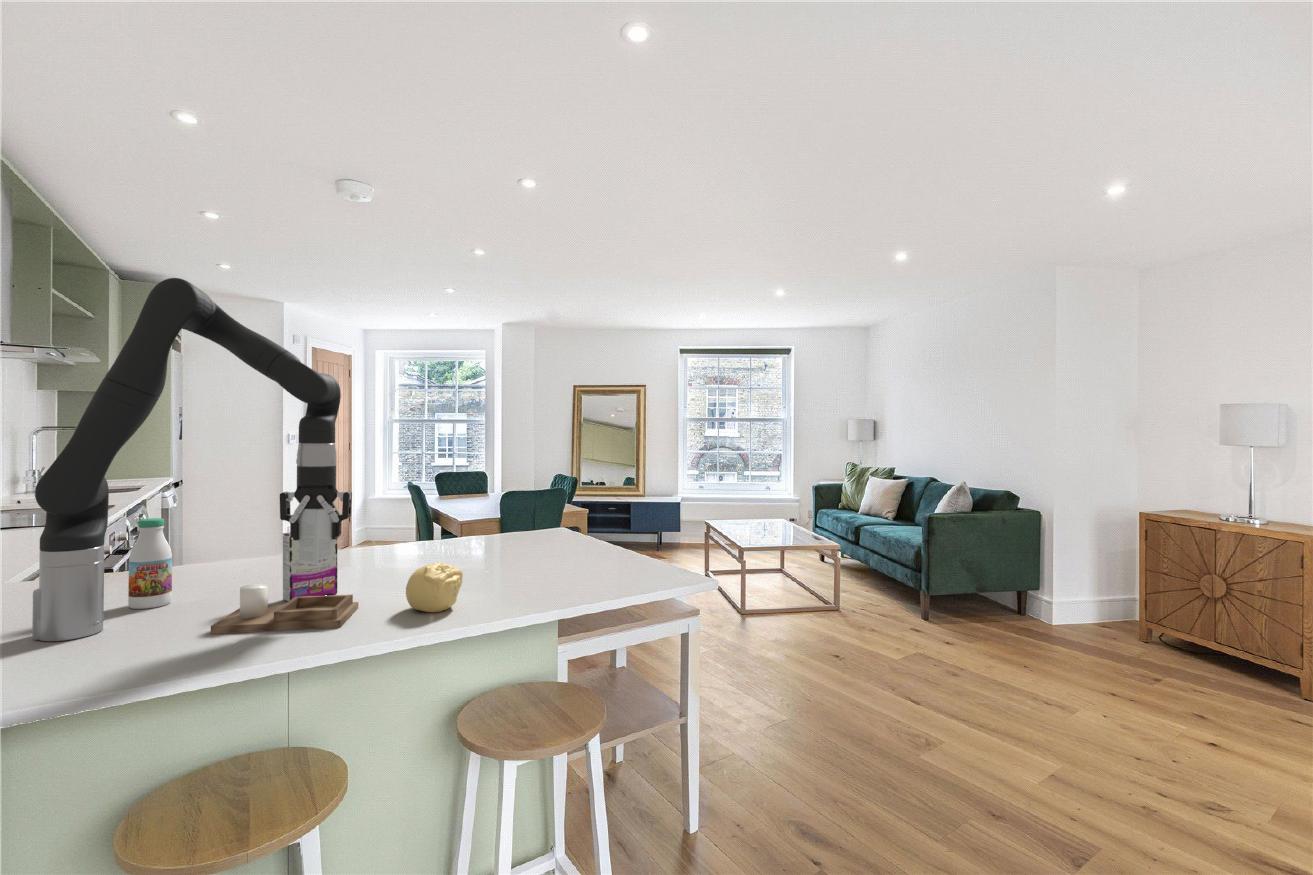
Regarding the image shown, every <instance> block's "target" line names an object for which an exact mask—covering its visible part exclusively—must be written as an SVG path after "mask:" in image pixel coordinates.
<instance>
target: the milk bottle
mask: <svg viewBox="0 0 1313 875" xmlns="http://www.w3.org/2000/svg"><path fill="white" fill-rule="evenodd" d="M137 522H138V523H137V527H138V530H139V534H138V535H137V536H138V537H137V539H136V541H135V543H134V544H133V546H132V548H131V550H130V552H129V553H130V554H129V558H128V559H129V560H128V589H127V590H128V591H127V592H128V593H127V594H128V595H127V596H128V597H127V602H128V607H129V609H132V610H144V609H153V608H159V607H162V606H166V605H169V604H171V602H172V597H173V596H172V595H173V555H172V550H171V546H170V545H169V543H168V541H167V539H166V537H165V534H164V528H165V518H163V517H162V518H160V517H152V518H151V517H149V518H142V519H139V520H138V521H137Z"/></svg>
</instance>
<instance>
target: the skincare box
mask: <svg viewBox="0 0 1313 875" xmlns="http://www.w3.org/2000/svg"><path fill="white" fill-rule="evenodd" d="M333 522H334V521H333V520H332V518H331V517H330V515H329V514H327V512H326V509H304V510H303V512H302V514H301V515H300V516H299V541H298V563H303V564H310V565H321V564H326V563H331V562H333V539H332V523H333Z"/></svg>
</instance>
